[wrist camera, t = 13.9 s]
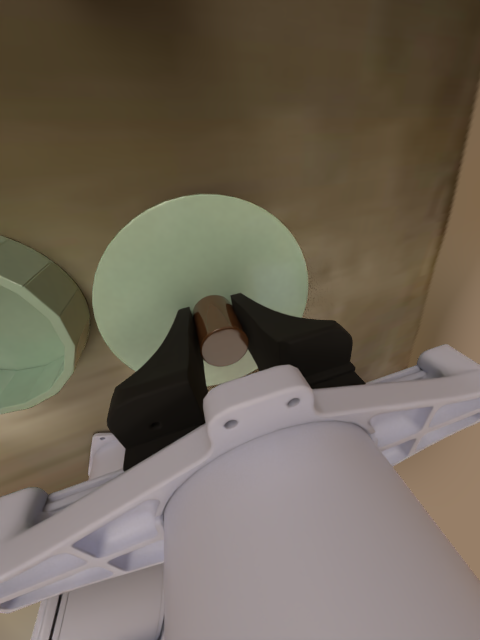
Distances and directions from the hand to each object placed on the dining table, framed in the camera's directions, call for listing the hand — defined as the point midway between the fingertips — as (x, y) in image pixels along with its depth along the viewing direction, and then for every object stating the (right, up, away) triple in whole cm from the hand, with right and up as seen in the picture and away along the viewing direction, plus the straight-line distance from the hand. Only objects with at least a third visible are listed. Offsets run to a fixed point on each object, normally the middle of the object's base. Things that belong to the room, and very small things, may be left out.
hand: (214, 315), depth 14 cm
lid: (0, 0, +1) cm, 1 cm away
